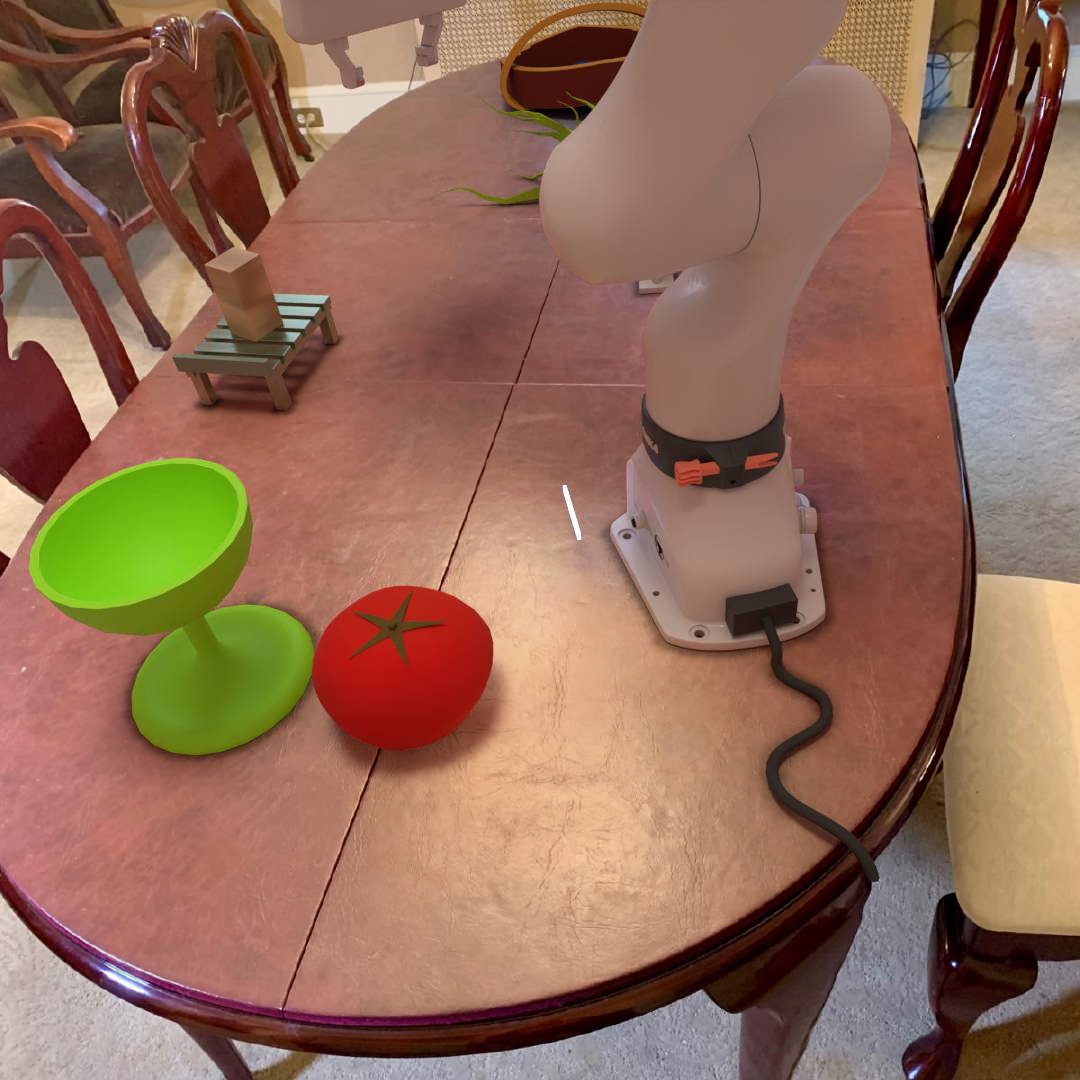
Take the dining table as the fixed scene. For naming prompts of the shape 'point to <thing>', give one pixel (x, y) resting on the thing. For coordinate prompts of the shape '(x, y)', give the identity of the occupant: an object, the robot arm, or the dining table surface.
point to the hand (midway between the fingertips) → (392, 75)
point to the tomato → (403, 666)
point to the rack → (260, 348)
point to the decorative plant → (542, 120)
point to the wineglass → (176, 600)
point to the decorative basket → (567, 61)
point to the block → (244, 293)
